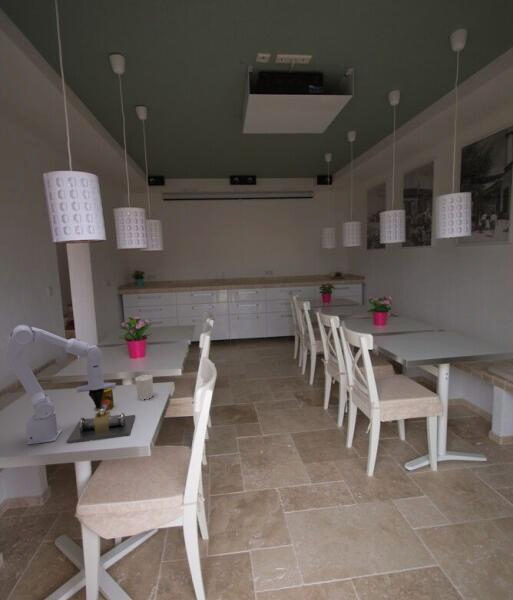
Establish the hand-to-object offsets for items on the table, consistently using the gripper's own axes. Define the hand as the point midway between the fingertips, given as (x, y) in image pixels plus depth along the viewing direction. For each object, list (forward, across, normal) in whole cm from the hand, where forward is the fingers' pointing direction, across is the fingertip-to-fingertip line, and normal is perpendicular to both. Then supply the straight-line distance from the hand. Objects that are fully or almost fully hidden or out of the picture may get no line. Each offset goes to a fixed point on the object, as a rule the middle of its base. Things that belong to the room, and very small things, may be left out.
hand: (98, 407), depth 143 cm
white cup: (+7, -16, -22) cm, 28 cm away
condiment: (+7, +1, -14) cm, 16 cm away
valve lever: (0, -3, +3) cm, 4 cm away
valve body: (+7, -3, +7) cm, 10 cm away
